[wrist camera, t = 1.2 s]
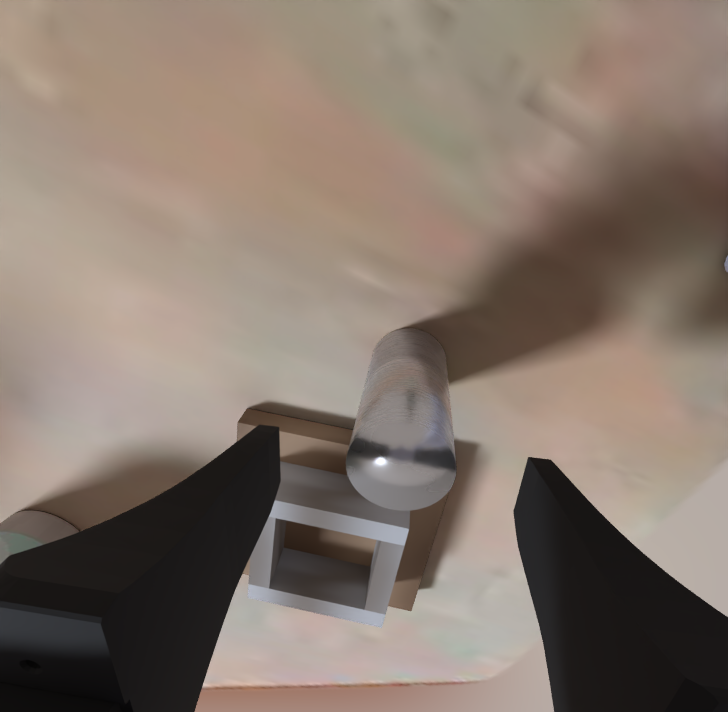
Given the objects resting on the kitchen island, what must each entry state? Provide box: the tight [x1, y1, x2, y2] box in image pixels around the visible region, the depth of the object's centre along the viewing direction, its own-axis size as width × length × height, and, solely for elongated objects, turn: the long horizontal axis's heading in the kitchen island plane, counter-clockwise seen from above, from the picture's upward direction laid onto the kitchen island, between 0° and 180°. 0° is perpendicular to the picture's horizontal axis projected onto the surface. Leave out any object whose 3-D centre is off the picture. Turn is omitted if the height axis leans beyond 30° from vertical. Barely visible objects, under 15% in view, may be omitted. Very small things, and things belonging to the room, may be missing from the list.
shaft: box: [346, 328, 456, 511], centre depth 16 cm, size 3×3×7 cm
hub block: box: [237, 408, 457, 628], centre depth 22 cm, size 10×10×4 cm
